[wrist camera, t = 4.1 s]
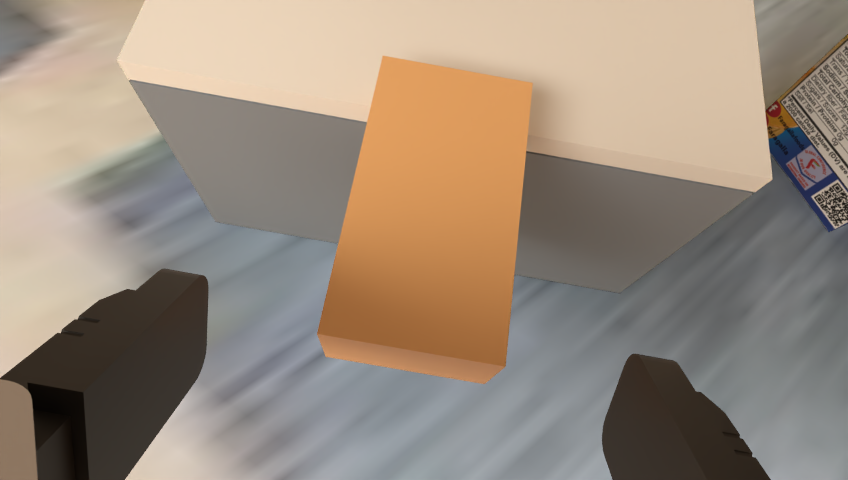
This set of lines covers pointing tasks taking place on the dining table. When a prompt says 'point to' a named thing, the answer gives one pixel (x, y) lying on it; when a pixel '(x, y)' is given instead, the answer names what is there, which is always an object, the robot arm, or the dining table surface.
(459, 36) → the lid flap
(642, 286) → the dining table surface
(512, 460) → the dining table surface
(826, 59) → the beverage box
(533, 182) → the carton
